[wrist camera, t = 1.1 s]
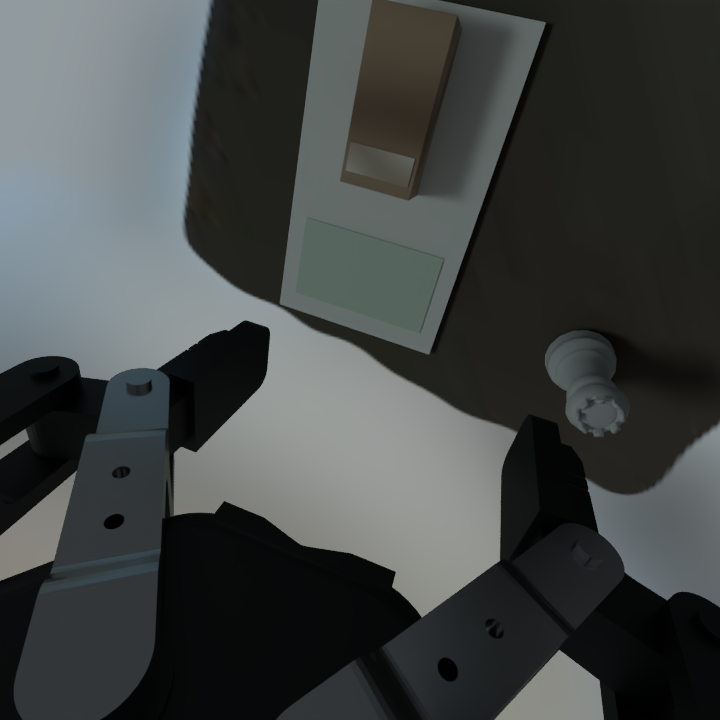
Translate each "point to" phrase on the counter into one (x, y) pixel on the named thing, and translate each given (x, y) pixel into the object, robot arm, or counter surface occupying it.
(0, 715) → the robot arm
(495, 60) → the grey mat
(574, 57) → the counter surface
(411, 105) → the brown rectangular block
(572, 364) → the rook chess piece
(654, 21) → the counter surface
